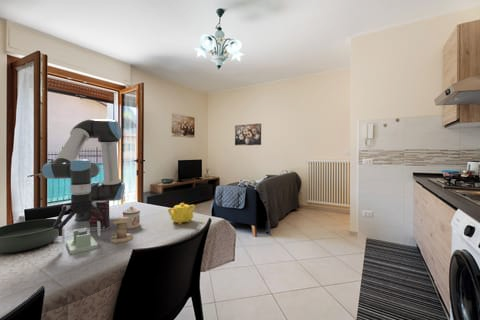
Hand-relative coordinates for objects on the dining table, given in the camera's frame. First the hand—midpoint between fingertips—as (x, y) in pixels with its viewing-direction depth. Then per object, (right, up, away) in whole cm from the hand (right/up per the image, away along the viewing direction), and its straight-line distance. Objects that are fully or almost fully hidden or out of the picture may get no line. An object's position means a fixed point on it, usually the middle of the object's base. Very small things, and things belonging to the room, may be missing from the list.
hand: (81, 239), depth 103 cm
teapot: (+38, -3, +36) cm, 52 cm away
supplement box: (-6, -3, +22) cm, 23 cm away
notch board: (0, -3, 0) cm, 3 cm away
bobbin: (+14, -3, +9) cm, 17 cm away
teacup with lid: (+9, -3, +29) cm, 31 cm away
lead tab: (0, -2, 0) cm, 2 cm away
